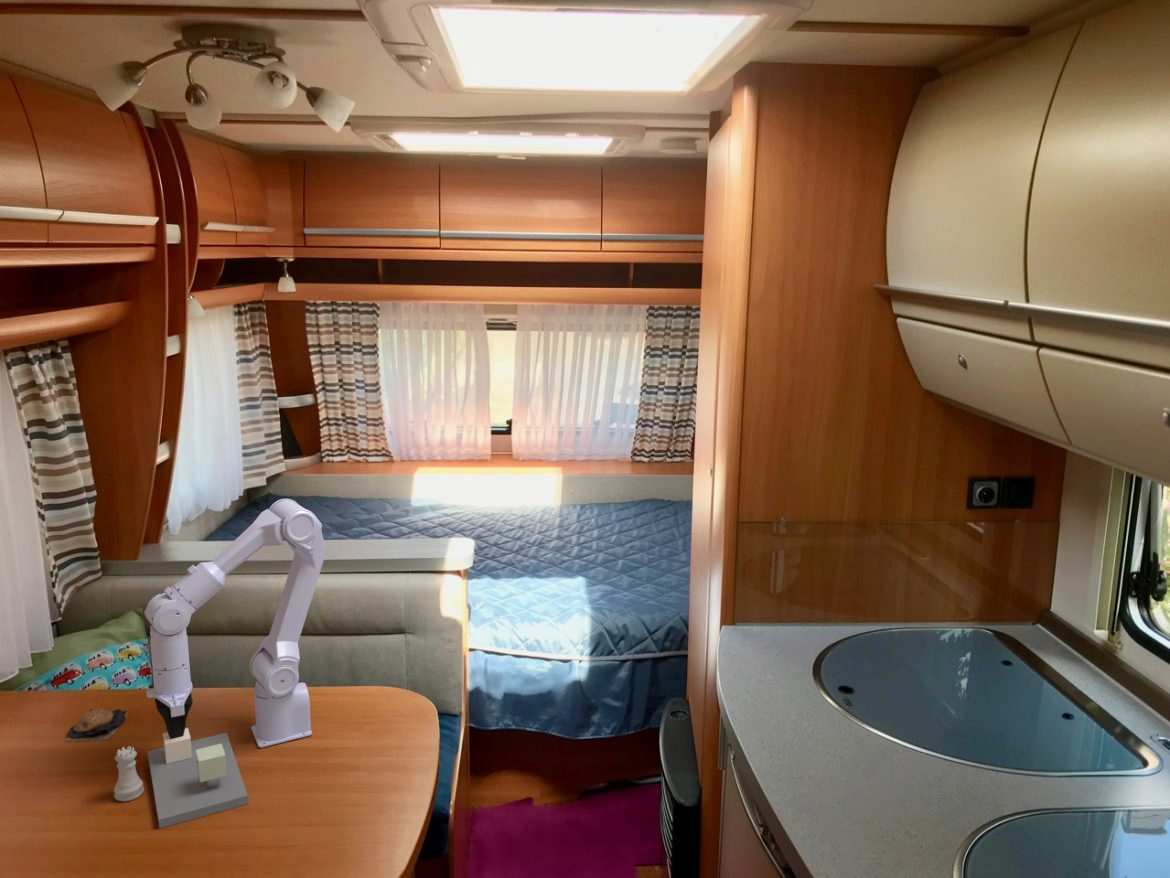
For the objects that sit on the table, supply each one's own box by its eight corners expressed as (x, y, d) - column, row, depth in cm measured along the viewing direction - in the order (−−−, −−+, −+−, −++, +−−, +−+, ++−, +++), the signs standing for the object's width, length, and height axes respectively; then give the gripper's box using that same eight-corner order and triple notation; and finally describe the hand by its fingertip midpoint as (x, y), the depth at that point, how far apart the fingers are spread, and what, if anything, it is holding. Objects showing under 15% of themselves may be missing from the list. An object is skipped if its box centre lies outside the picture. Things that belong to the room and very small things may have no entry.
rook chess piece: (131, 804, 138) (127, 759, 137) (107, 800, 139) (103, 755, 138) (150, 788, 143) (146, 744, 141) (127, 785, 143) (123, 741, 142)
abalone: (108, 744, 157) (106, 726, 156) (60, 745, 156) (58, 726, 155) (134, 714, 167) (132, 697, 166) (89, 715, 166) (87, 697, 166)
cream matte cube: (189, 746, 152) (187, 727, 152) (192, 757, 149) (190, 738, 148) (164, 752, 150) (162, 733, 150) (166, 763, 147) (165, 744, 146)
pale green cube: (222, 763, 144) (221, 743, 143) (226, 775, 140) (225, 755, 140) (197, 770, 142) (195, 749, 141) (200, 782, 138) (198, 761, 138)
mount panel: (227, 740, 158) (225, 720, 157) (248, 803, 139) (246, 781, 138) (148, 759, 151) (146, 738, 150) (159, 828, 132) (157, 805, 132)
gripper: (141, 651, 150) (147, 722, 153) (148, 686, 138) (154, 762, 141) (185, 643, 154) (190, 713, 157) (195, 676, 142) (201, 751, 144)
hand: (176, 736), depth 149 cm, fingers closed, pressing on cream matte cube
